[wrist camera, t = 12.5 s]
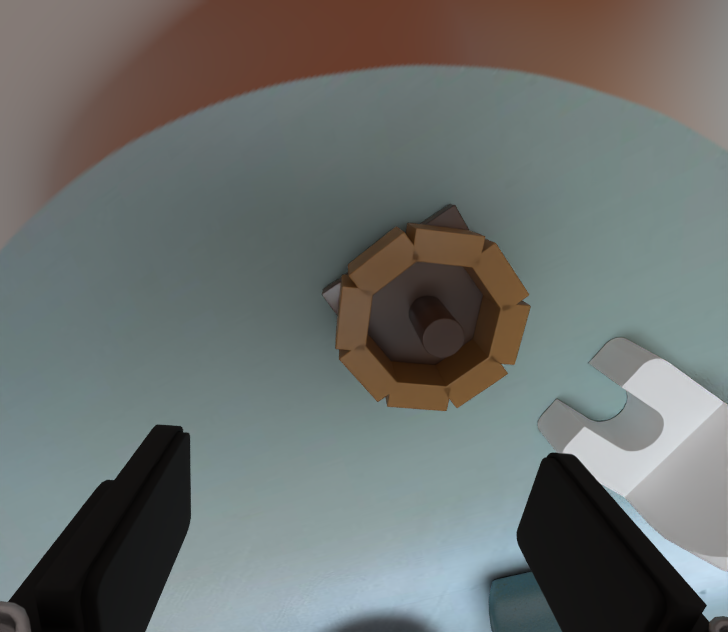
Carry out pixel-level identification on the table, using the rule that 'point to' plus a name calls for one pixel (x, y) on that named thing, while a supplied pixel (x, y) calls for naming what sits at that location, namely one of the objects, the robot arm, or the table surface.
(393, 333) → the peg stand
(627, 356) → the white slotted bracket
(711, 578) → the table surface
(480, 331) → the segmented block ring
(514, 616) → the flower pot
